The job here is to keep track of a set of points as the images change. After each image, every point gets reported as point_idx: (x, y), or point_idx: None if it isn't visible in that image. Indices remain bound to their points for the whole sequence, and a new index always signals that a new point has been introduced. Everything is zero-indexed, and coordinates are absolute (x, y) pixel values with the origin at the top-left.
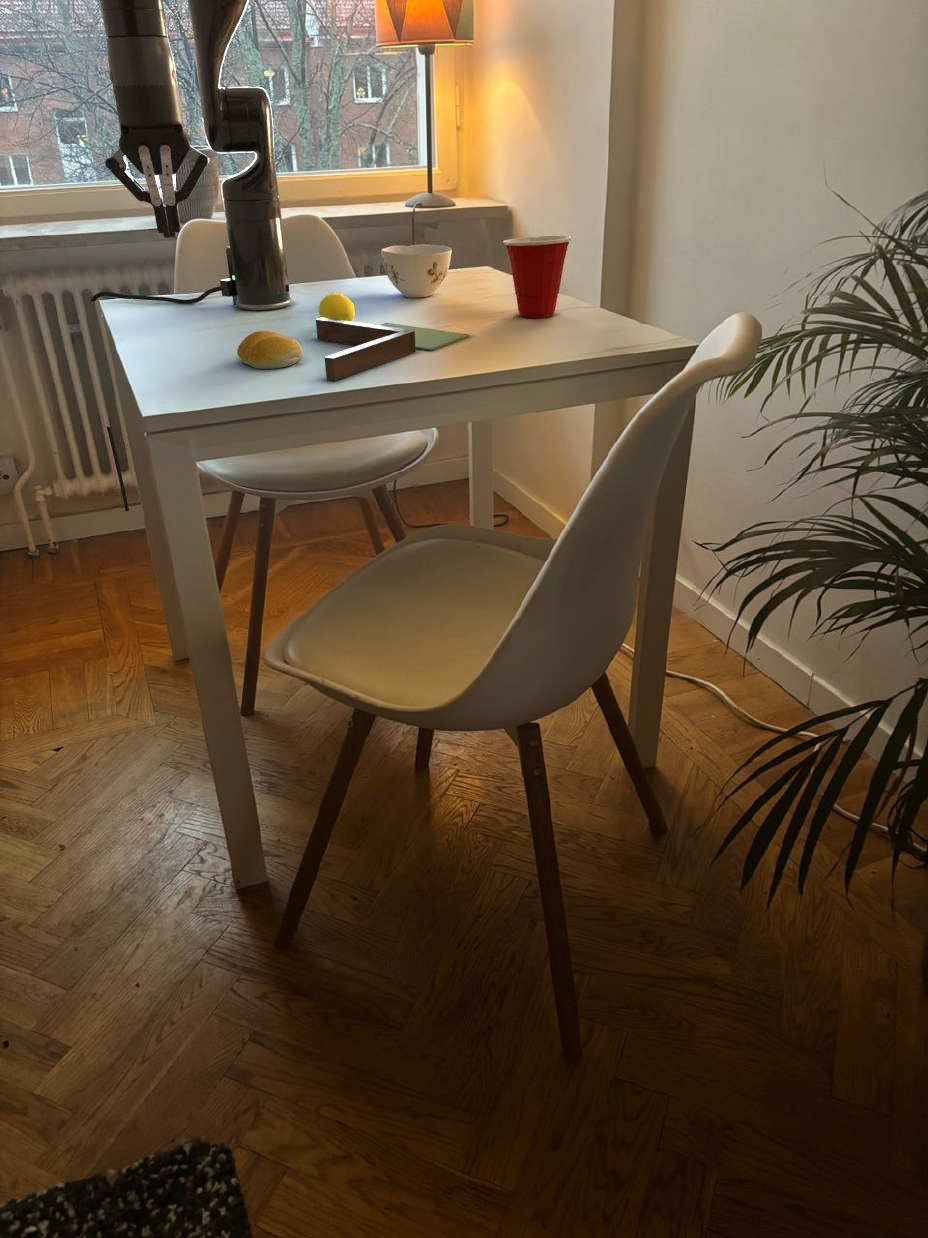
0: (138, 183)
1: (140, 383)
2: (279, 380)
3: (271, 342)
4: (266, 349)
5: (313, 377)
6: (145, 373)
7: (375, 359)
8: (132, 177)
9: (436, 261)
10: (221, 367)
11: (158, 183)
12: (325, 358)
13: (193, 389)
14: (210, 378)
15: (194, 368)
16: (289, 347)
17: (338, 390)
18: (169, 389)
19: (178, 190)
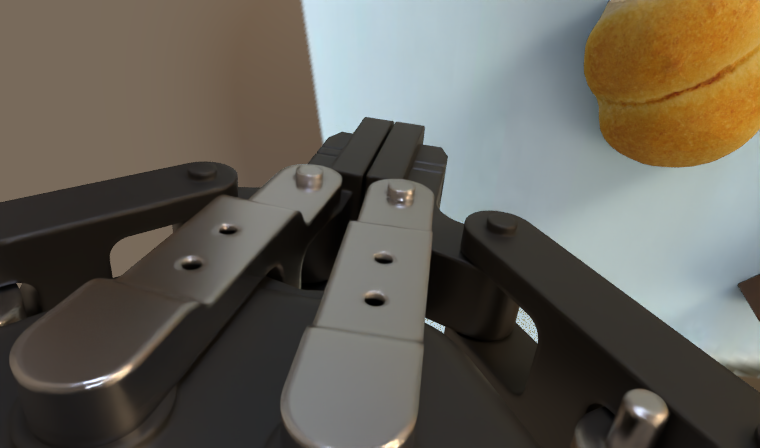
0: (153, 229)
1: (326, 137)
2: (633, 241)
3: (677, 153)
4: (651, 162)
5: (718, 251)
6: (333, 51)
7: None
8: (96, 262)
9: None
10: (526, 68)
11: (299, 286)
12: (756, 316)
13: None
14: (483, 161)
15: (456, 50)
16: (725, 154)
17: (725, 356)
18: None
19: (443, 305)
